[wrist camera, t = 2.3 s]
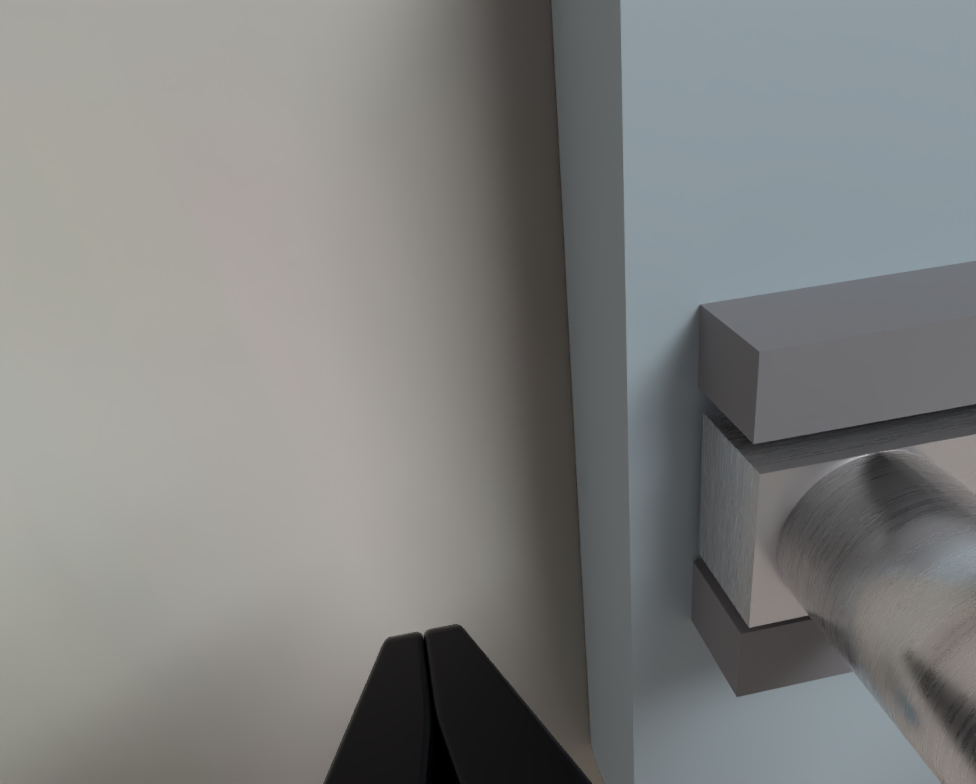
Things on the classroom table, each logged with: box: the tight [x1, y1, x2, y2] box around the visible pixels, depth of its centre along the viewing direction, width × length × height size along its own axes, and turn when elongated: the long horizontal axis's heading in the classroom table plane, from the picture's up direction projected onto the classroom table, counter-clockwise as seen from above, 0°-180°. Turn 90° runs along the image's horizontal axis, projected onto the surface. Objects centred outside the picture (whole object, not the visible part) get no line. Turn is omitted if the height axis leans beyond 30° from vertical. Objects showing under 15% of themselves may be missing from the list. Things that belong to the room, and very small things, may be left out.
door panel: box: [551, 0, 976, 784], centre depth 12 cm, size 10×18×5 cm, turn 6°
